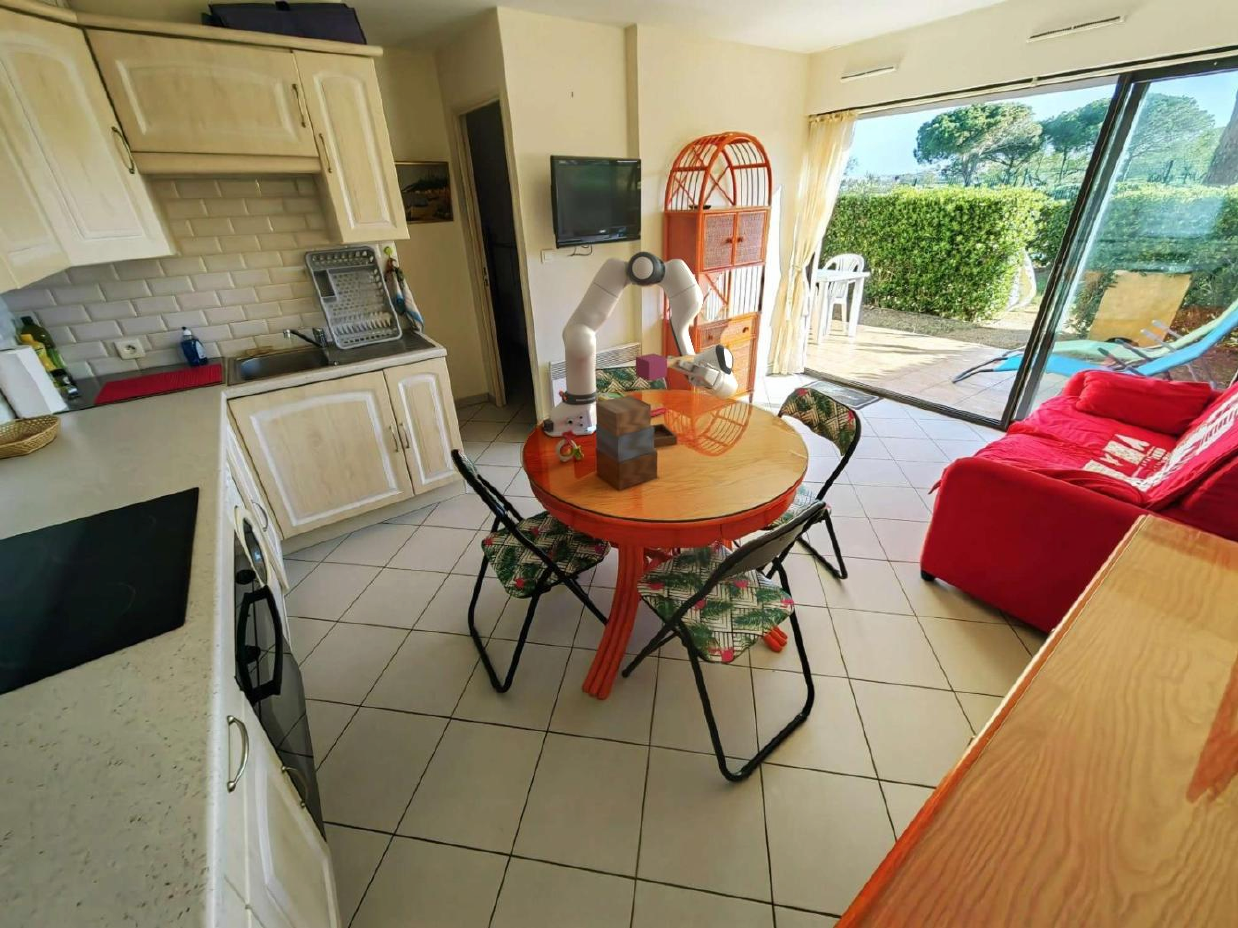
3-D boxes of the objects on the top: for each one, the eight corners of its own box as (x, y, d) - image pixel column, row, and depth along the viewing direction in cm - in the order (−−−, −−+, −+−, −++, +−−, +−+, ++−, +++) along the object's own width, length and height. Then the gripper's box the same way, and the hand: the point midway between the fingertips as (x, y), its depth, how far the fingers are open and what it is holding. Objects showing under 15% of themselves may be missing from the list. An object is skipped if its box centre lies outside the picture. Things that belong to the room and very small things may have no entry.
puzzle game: (611, 407, 202) (593, 392, 218) (612, 418, 204) (594, 403, 220) (638, 402, 206) (619, 388, 222) (638, 413, 208) (619, 399, 225)
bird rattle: (568, 471, 168) (590, 455, 170) (554, 446, 161) (576, 429, 163) (560, 464, 172) (581, 448, 175) (546, 439, 166) (568, 423, 168)
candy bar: (663, 411, 210) (663, 404, 209) (669, 413, 208) (669, 406, 206) (631, 419, 203) (631, 412, 201) (636, 422, 200) (636, 414, 199)
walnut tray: (632, 450, 176) (632, 442, 175) (621, 437, 187) (621, 429, 185) (676, 443, 181) (677, 436, 179) (662, 430, 191) (663, 423, 190)
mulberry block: (684, 365, 170) (685, 347, 167) (698, 369, 165) (699, 351, 162) (635, 375, 160) (635, 356, 158) (648, 381, 155) (649, 361, 152)
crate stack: (633, 462, 168) (632, 392, 157) (657, 477, 158) (658, 404, 147) (596, 473, 161) (593, 401, 150) (619, 490, 151) (618, 414, 141)
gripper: (685, 359, 179) (658, 345, 170) (727, 373, 163) (700, 358, 154) (678, 376, 180) (651, 362, 171) (718, 391, 164) (691, 377, 155)
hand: (674, 360), depth 162 cm, fingers closed on mulberry block, 2 cm apart
